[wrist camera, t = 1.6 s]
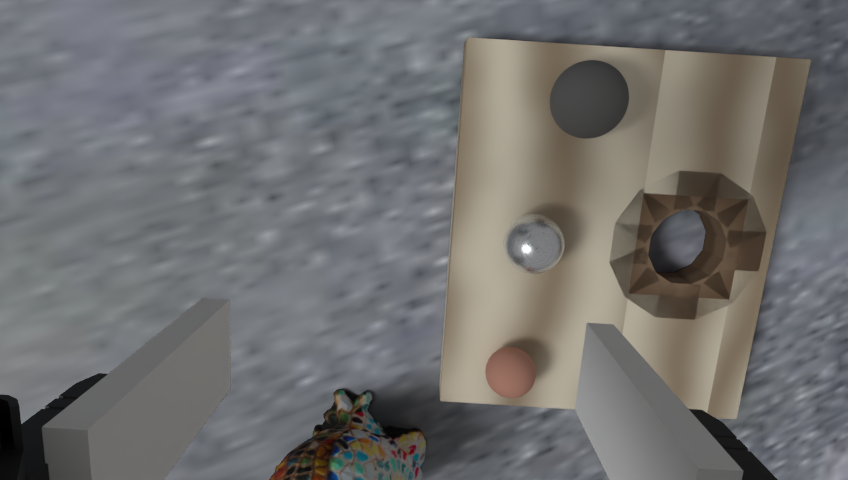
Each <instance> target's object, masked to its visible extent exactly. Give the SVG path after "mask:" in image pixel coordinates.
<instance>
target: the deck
mask: <svg viewBox="0 0 848 480" xmlns="http://www.w3.org/2000/svg"><path fill="white" fill-rule="evenodd" d="M587 60H598V61H603V62H606V63H608V64H610V65H612V66H614V67H615V68H616V69H617V70H618V71H619V72H620V73H621V74H622V75H623V77H624V79H625V81H626V83H627V86H628V90H629V103H628V107H627V110H626V113H625V115H624V117H623V119H622V120H621V121H620V123H619V124H618V125H617V126H616V127H615V128H614V129H612V130H611V131H610V132H608V133H606V134H605V135H602V136H600V137H596V138H589V139H583V138H577V137H574V136H572V135H569V134H567V133H566V132H564V131H563V130H562V129H561V128H560V127H559V126H558V125H557V124H556V122H555V120H554V119H553V116H552V114H551V110H550V94H551V91H552V87H553V85H554V83H555V81H556V80H557V78H558V77H559V76H560V74H561V73H562V72H563V71H565V70H566V69H567V68H569V67H570V66H572V65H574V64H576V63H578V62H582V61H587ZM810 63H811V59H798V58H782V57H766V56H751V55H735V54H719V53H704V52H688V51H672V50H657V49H641V48H626V47H610V46H594V45H579V44H563V43H547V42H532V41H516V40H500V39H485V38H469V37H467V39H466V41H465V43H464V56H463V70H462V83H461V97H460V110H459V124H458V137H457V151H456V164H455V178H454V191H453V205H452V218H451V232H450V245H449V259H448V272H447V286H446V299H445V313H444V326H443V340H442V353H441V367H440V380H439V387H440V401H447V402H463V403H480V404H496V405H512V406H529V407H545V408H562V409H575V404H576V397H577V390H578V383H579V375H580V368H581V361H582V354H583V346H584V339H585V332H586V324H587V323H600V324H614V326H615V327H616V328H617V329H618V330H619V331H620V332H621V333H622V335H623V336H624V337H625V338H626V339H627V340H628V341H629V343H630V344H631V345H632V346H633V347H634V348H635V349H636V350H637V352H638V353H639V354H640V355H641V356H642V357H643V358H644V359H645V361H646V362H647V363H648V364H649V365H650V366H651V367H652V368H653V370H654V371H655V372H656V373H657V374H658V375H659V376H660V377H661V379H662V380H663V381H664V382H665V383H666V384H667V385H668V386H669V388H670V389H671V390H672V391H673V392H674V393H675V394H676V395H677V397H678V398H679V399H680V400H681V401H682V402H683V403H684V404H685V406H686V407H687V408H688V409H698V410H703V411H705V412H706V413H708V414H710V415H711V416H713V417H714V418H726V419H736V418H737V414H738V409H739V404H740V399H741V394H742V390H743V385H744V380H745V375H746V370H747V366H748V361H749V356H750V351H751V346H752V342H753V337H754V332H755V327H756V322H757V318H758V313H759V308H760V303H761V299H762V294H763V289H764V284H765V279H766V275H767V270H768V265H769V260H770V255H771V251H772V246H773V241H774V236H775V231H776V227H777V222H778V217H779V212H780V207H781V203H782V198H783V193H784V188H785V183H786V179H787V174H788V169H789V164H790V159H791V155H792V150H793V145H794V140H795V135H796V131H797V126H798V121H799V116H800V111H801V107H802V102H803V97H804V92H805V87H806V83H807V78H808V73H809V68H810ZM682 210H694V211H695V212H696V213H698V214H699V215H700V217H701V220H702V222H703V225H704V227H705V230H706V234H705V240H704V246H703V250H702V251H701V252H700V254H699V255H698V256H697V257H696V259H695V260H694V261H693V262H692V264H691V265H689V266H687V267H685V268H682V269H680V270H678V271H676V272H674V273H670V272H655V270H654V268H653V265H652V263H651V260H650V258H649V256H648V253H649V247H650V240H651V235H652V234H653V232H654V231H655V230H656V229H657V227H658V226H659V225H660V223H661V222H662V221H663V220H664V218H667V217H669V216H671V215H673V214H675V213H677V212H679V211H682ZM528 214H540V215H544V216H546V217H548V218H550V219H552V220H553V221H554V222H555V223H556V224H557V225H558V226H559V228H560V229H561V231H562V233H563V236H564V242H565V247H564V252H563V255H562V257H561V259H560V261H559V262H558V263H557V265H556V266H554V267H553V268H552V269H550V270H549V271H547V272H544V273H540V274H527V273H524V272H521V271H519V270H517V269H516V268H515V267H513V266H512V265H511V264H510V262H509V261H508V260H507V258H506V256H505V253H504V249H503V240H504V235H505V233H506V230H507V229H508V227H509V226H510V224H511V223H512V222H513V221H515V220H516V219H518V218H519V217H521V216H524V215H528ZM505 347H515V348H518V349H521V350H523V351H524V352H526V353H527V354H528V355H529V356H530V357H531V359H532V361H533V362H534V365H535V369H536V379H535V382H534V385H533V387H532V388H531V389H530V391H529V392H527V393H526V394H525V395H523V396H521V397H518V398H505V397H502V396H500V395H498V394H497V393H495V392H494V391H493V390H492V389H491V387H490V386H489V384H488V382H487V379H486V374H485V369H486V364H487V362H488V359H489V358H490V356H491V355H492V354H493V353H494V352H496V351H497V350H499V349H501V348H505Z"/></svg>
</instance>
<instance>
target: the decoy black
mask: <svg viewBox="0 0 848 480" xmlns="http://www.w3.org/2000/svg"><path fill="white" fill-rule="evenodd" d="M628 103H629V90H628V86H627V83H626V81H625V79H624V77H623V75H622V74H621V73H620V72H619V71H618V70H617V69H616V68H615V67H614V66H612V65H610V64H608V63H606V62H603V61H598V60H587V61H582V62H578V63H576V64H574V65H572V66H570V67H569V68H567V69H566V70H565V71H563V72H562V73H561V74H560V76H559V77H558V78H557V80H556V81H555V83H554V85H553V87H552V91H551V94H550V110H551V114H552V116H553V119H554V120H555V122H556V124H557V125H558V126H559V127H560V128H561V129H562V130H563V131H564V132H566V133H567V134H569V135H572V136H574V137H577V138H583V139H589V138H596V137H600V136H602V135H605V134H606V133H608V132H610V131H611V130H612V129H614V128H615V127H616V126H617V125H618V124H619V123H620V121H621V120H622V119H623V117H624V115H625V113H626V110H627V107H628Z"/></svg>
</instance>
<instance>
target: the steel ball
mask: <svg viewBox="0 0 848 480" xmlns="http://www.w3.org/2000/svg"><path fill="white" fill-rule="evenodd" d="M564 247H565V242H564V236H563V233H562V231H561V229H560V228H559V226H558V225H557V224H556V223H555V222H554V221H553V220H552V219H550V218H548V217H546V216H544V215H540V214H528V215H524V216H521V217H519V218H518V219H516V220H515V221H513V222H512V223H511V224H510V226H509V227H508V229H507V230H506V233H505V235H504V240H503V249H504V253H505V256H506V258H507V260H508V261H509V262H510V264H511V265H512V266H513V267H515V268H516V269H517V270H519V271H521V272H524V273H527V274H540V273H544V272H547V271H549V270H550V269H552V268H553V267H554V266H556V265H557V263H558V262H559V261H560V259H561V257H562V255H563V252H564Z"/></svg>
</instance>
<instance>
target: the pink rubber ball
mask: <svg viewBox="0 0 848 480" xmlns="http://www.w3.org/2000/svg"><path fill="white" fill-rule="evenodd" d="M485 374H486V379H487V382H488V384H489V386H490V387H491V389H492V390H493V391H494V392H495V393H497V394H498V395H500V396H502V397H505V398H518V397H521V396H523V395H525V394H526V393H527V392H529V391H530V389H531V388H532V387H533V385H534V382H535V379H536V369H535V365H534V362H533V361H532V359H531V357H530V356H529V355H528V354H527V353H526V352H524V351H523V350H521V349H518V348H515V347H505V348H501V349H499V350H497V351H496V352H494V353H493V354H492V355H491V356H490V358H489V359H488V362H487V364H486V369H485Z"/></svg>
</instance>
